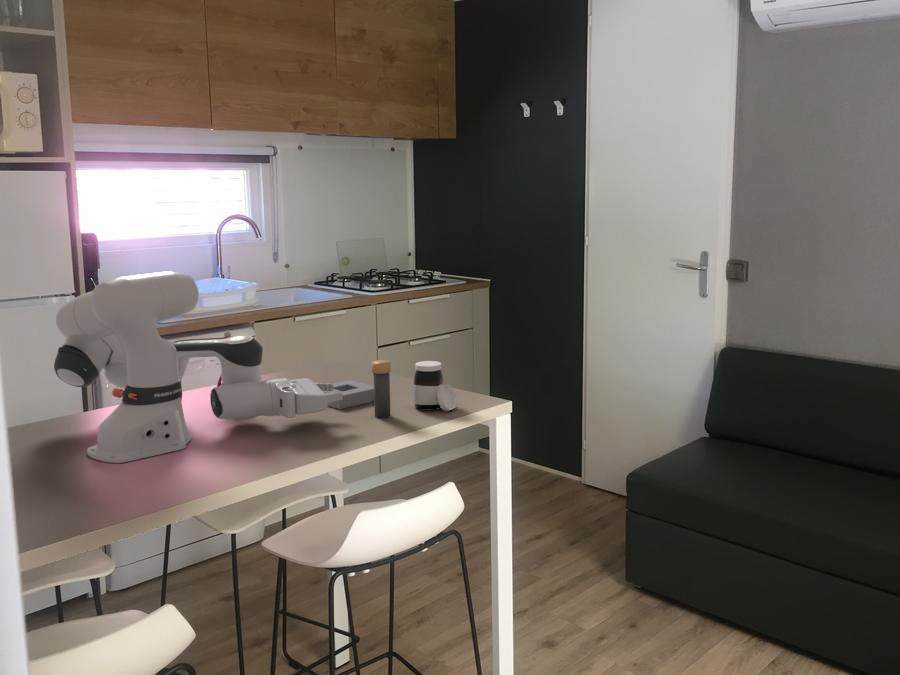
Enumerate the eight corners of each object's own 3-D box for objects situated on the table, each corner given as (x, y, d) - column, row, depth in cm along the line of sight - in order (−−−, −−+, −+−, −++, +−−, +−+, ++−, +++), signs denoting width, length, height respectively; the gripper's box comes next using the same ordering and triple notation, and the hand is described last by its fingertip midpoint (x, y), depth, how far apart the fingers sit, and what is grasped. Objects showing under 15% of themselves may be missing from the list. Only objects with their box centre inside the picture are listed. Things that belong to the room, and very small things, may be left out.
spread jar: (417, 401, 228) (416, 359, 226) (459, 402, 227) (458, 359, 225) (411, 413, 216) (410, 369, 214) (455, 414, 215) (454, 369, 213)
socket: (339, 409, 221) (339, 396, 220) (311, 400, 230) (311, 387, 230) (378, 400, 230) (378, 387, 229) (350, 392, 239) (350, 380, 238)
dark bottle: (383, 419, 211) (381, 365, 208) (369, 416, 214) (367, 362, 211) (396, 415, 214) (394, 361, 212) (382, 412, 217) (380, 359, 215)
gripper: (274, 399, 214) (327, 393, 219) (290, 420, 195) (348, 413, 200) (272, 375, 213) (326, 370, 218) (288, 393, 194) (347, 387, 199)
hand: (337, 391), depth 209 cm, fingers open, 8 cm apart
